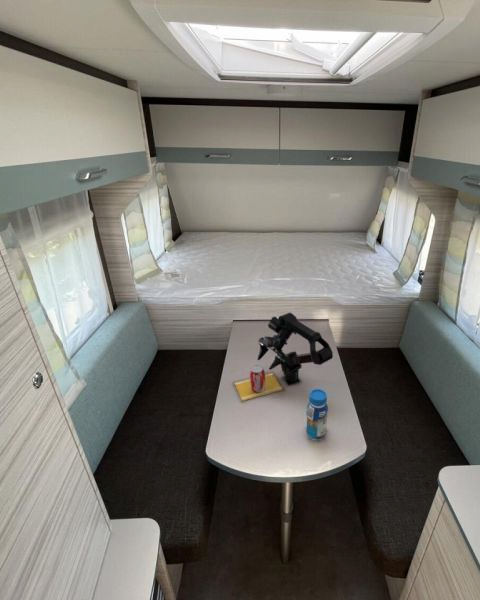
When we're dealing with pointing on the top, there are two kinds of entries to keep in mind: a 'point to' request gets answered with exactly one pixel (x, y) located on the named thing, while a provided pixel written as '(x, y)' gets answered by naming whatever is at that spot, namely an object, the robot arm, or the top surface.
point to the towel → (270, 387)
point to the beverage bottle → (317, 414)
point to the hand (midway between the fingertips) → (263, 364)
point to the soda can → (257, 379)
